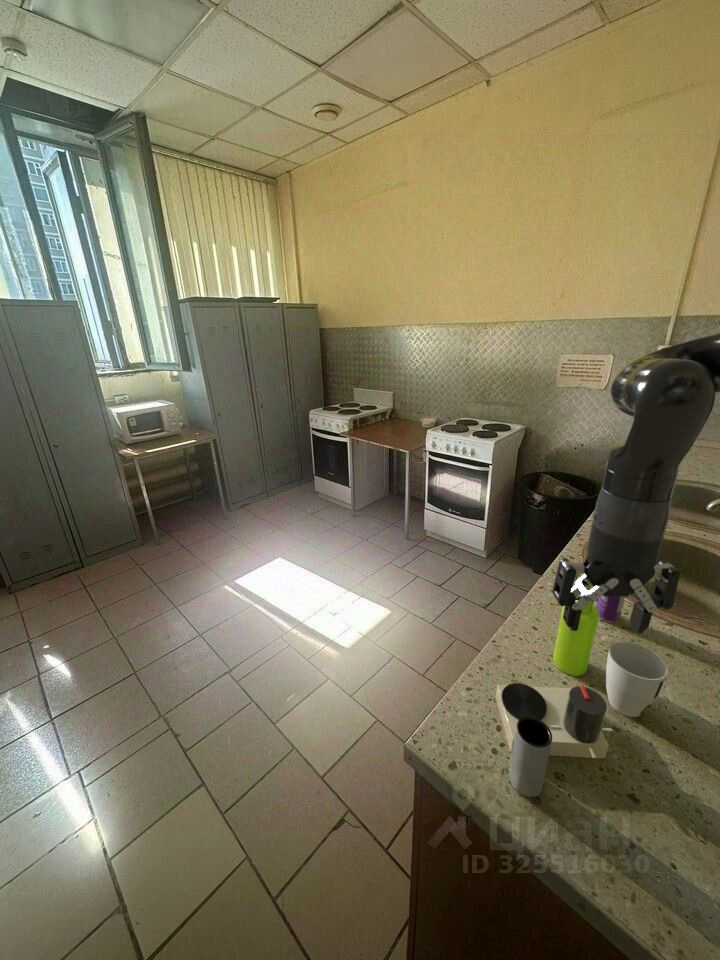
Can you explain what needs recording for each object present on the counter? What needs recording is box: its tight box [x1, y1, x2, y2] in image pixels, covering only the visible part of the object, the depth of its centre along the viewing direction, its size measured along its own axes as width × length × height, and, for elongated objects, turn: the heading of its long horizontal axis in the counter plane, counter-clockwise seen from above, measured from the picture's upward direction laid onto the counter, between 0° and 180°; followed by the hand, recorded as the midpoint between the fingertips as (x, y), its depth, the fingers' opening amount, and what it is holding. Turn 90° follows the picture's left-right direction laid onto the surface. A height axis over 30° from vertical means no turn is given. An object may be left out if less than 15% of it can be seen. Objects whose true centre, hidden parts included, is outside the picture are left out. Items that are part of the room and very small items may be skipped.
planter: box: [508, 716, 552, 798], centre depth 56 cm, size 4×4×10 cm
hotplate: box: [502, 682, 547, 720], centre depth 66 cm, size 7×7×1 cm
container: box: [595, 595, 626, 624], centre depth 87 cm, size 5×5×15 cm
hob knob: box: [563, 684, 608, 744], centre depth 60 cm, size 5×5×6 cm
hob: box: [495, 684, 613, 760], centre depth 64 cm, size 16×12×3 cm
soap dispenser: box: [552, 573, 599, 677], centre depth 74 cm, size 6×7×20 cm
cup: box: [605, 641, 669, 718], centre depth 67 cm, size 8×8×10 cm
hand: (603, 628), depth 55 cm, fingers open, 8 cm apart
